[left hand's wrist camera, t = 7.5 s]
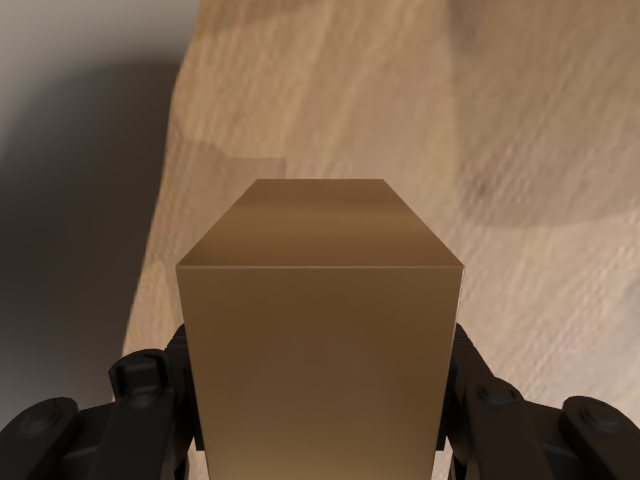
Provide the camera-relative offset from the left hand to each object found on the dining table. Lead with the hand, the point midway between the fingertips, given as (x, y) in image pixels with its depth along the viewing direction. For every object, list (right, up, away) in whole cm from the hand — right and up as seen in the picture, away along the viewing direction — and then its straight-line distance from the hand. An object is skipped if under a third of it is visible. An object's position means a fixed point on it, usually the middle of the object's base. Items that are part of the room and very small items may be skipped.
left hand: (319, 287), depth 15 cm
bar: (0, -7, +3) cm, 7 cm away
